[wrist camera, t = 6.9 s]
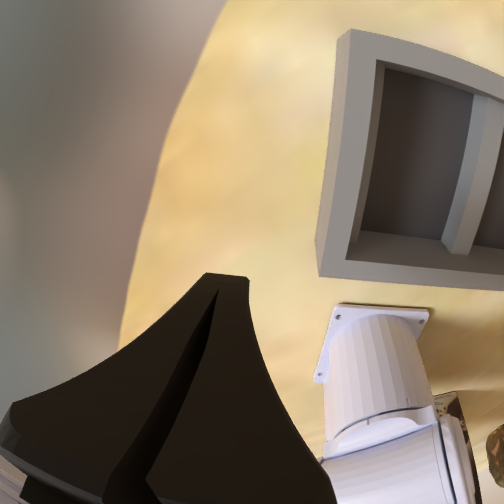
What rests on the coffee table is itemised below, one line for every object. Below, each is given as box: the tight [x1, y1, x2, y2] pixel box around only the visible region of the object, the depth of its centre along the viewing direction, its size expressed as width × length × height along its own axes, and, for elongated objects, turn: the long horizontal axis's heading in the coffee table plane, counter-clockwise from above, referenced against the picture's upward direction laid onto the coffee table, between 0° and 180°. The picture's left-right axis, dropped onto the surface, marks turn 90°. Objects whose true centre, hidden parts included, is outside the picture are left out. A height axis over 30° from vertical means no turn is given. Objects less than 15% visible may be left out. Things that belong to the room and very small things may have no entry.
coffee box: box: [433, 392, 482, 504], centre depth 23 cm, size 9×6×16 cm
